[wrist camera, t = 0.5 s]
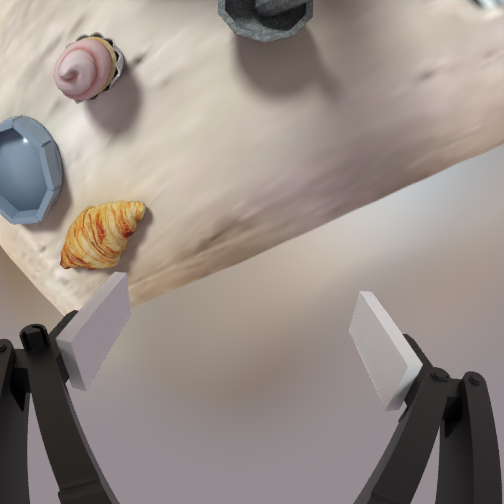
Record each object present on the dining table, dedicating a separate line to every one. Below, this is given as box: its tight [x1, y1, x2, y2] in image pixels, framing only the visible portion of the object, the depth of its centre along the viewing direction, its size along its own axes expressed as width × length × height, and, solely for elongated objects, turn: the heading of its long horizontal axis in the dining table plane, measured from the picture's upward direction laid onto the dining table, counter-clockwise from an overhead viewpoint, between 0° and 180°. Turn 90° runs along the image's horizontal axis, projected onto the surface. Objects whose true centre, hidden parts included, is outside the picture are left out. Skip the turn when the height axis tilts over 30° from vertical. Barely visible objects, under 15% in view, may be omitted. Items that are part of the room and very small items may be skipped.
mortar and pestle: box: [218, 0, 313, 43], centre depth 22 cm, size 11×9×12 cm
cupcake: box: [54, 32, 124, 104], centre depth 26 cm, size 9×9×10 cm
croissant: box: [60, 201, 146, 270], centre depth 43 cm, size 21×10×8 cm, turn 120°
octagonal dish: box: [0, 116, 63, 225], centre depth 36 cm, size 18×18×4 cm
